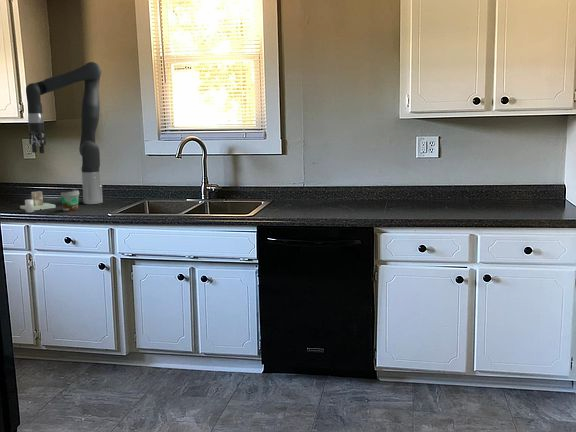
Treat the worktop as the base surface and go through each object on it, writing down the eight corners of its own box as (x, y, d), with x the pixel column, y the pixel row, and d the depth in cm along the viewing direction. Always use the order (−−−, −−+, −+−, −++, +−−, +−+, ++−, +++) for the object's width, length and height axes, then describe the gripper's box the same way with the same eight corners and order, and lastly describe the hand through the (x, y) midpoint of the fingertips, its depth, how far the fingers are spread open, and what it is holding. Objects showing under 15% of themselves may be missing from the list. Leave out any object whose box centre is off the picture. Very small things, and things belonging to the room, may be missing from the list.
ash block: (39, 204, 349) (38, 191, 348) (43, 205, 346) (42, 192, 345) (32, 205, 346) (31, 192, 345) (35, 206, 343) (34, 192, 342)
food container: (72, 212, 332) (71, 192, 330) (61, 212, 333) (60, 192, 331) (85, 208, 344) (84, 189, 342) (74, 208, 345) (73, 189, 343)
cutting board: (45, 205, 355) (45, 202, 355) (55, 207, 348) (55, 204, 347) (20, 208, 345) (20, 205, 345) (29, 210, 338) (29, 208, 337)
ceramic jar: (31, 210, 338) (31, 199, 337) (35, 211, 335) (34, 200, 334) (24, 211, 335) (23, 200, 334) (27, 212, 332) (26, 200, 331)
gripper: (49, 122, 346) (51, 153, 349) (36, 121, 356) (38, 151, 359) (35, 122, 341) (37, 154, 344) (23, 122, 351) (25, 152, 354)
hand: (38, 152), depth 351 cm, fingers open, 8 cm apart
